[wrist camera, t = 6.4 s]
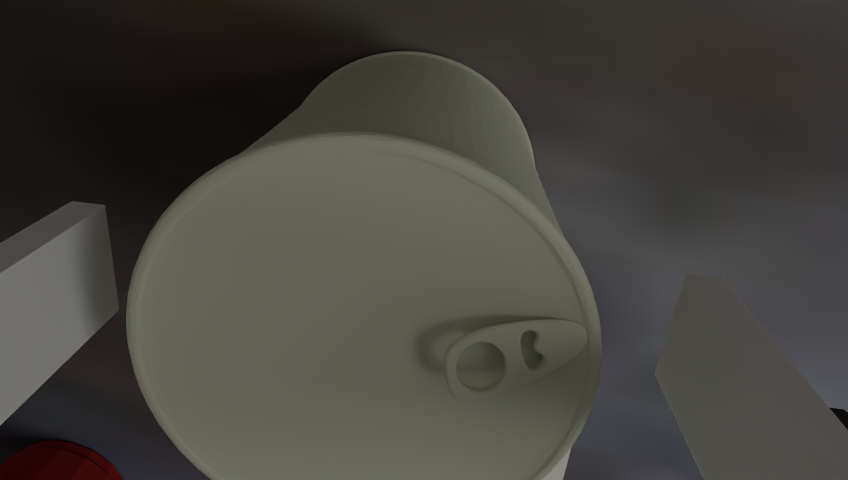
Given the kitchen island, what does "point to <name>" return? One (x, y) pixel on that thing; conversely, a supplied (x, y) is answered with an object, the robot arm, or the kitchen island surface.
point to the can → (370, 293)
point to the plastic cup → (57, 463)
